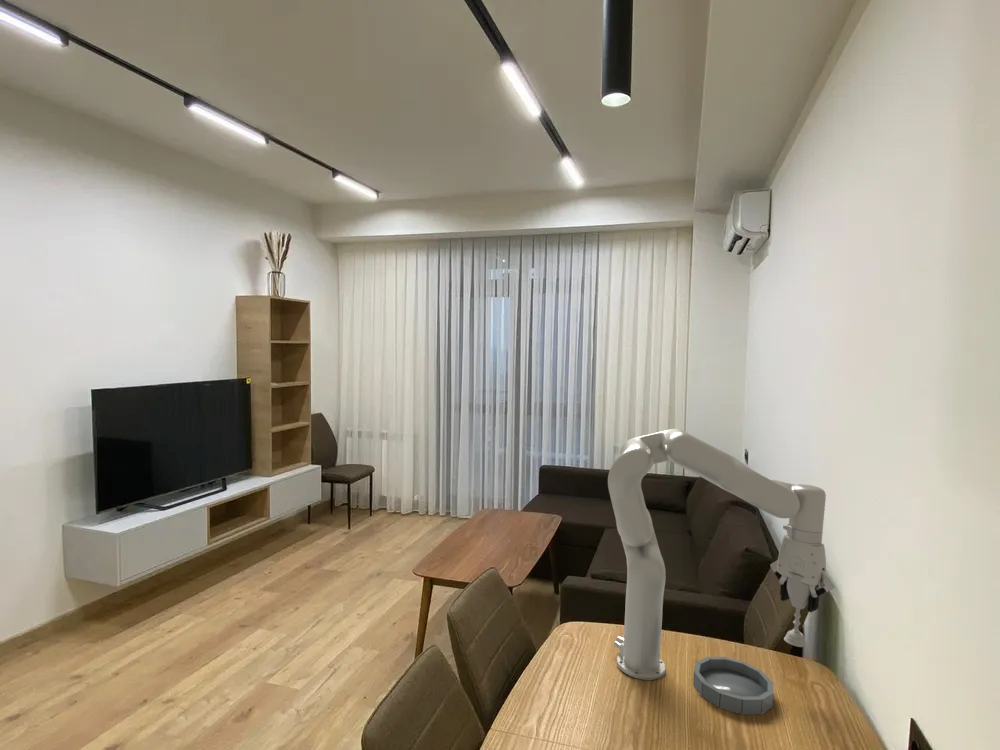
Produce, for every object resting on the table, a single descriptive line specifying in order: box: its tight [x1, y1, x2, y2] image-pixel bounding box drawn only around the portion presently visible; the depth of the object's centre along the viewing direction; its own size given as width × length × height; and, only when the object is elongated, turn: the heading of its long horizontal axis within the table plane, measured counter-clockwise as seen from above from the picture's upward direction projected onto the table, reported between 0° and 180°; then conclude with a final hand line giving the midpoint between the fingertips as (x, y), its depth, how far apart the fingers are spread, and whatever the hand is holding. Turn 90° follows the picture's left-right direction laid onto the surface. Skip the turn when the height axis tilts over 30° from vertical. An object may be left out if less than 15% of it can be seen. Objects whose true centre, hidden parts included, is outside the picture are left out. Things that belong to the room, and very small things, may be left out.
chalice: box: [783, 571, 811, 648], centre depth 137 cm, size 7×7×18 cm
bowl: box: [692, 656, 774, 715], centre depth 136 cm, size 18×18×4 cm
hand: (798, 604), depth 137 cm, fingers closed on chalice, 6 cm apart
